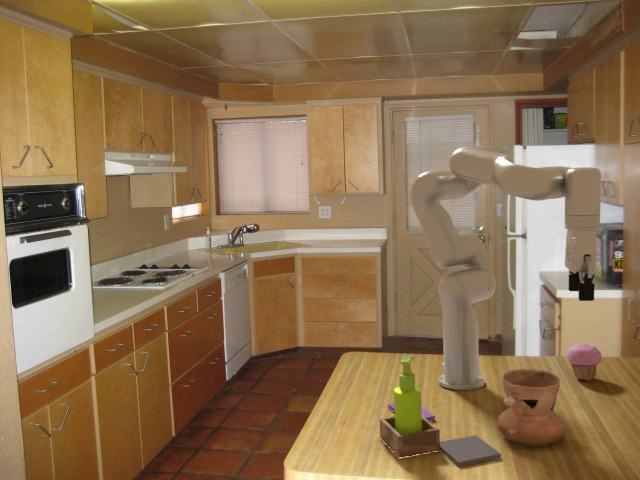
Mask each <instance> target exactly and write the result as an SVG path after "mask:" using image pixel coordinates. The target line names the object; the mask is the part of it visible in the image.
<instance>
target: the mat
mask: <svg viewBox="0 0 640 480" xmlns="http://www.w3.org/2000/svg"><path fill="white" fill-rule="evenodd" d="M440 450H441V451H442V452H443V453H444V454H443V453H442V452H441V451H440V452H441V453H442V454H443V455H445V454H446V455H447V456H448V457H449V458H450V459H451V460H452V461H451V460H450V459H449V458H448V457H447V456H446V455H445V456H446V457H447V458H448V459H449V460H450V461H451V462H453V461H454V462H455V463H456V464H457V465H458V466H460V467H463V466H462V465H465V466H468V465H467V464H470V465H473V464H472V463H475V464H478V463H477V462H480V463H482V462H481V461H485V462H488V460H489V461H493V460H498V459H501V458H502V453H501V452H500V451H498V450H496V449H495V448H494V447H493V446H491V445H490V444H489V443H487V442H486V441H485V440H483V439H482V438H481V437H479V436H478V435H476V434H475V435H469V436H463V437H458V438H453V439H448V440H442V441H440ZM454 462H453V463H454ZM455 463H454V464H455ZM456 464H455V465H456ZM457 465H456V466H457ZM458 466H457V467H458Z"/></svg>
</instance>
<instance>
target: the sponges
mask: <svg viewBox="0 0 640 480" xmlns="http://www.w3.org/2000/svg"><path fill="white" fill-rule="evenodd" d="M388 407H389V408H390V409H392V410H393V411H394V412H395V409H394V402H390V403H388V405H387V408H388ZM389 408H388V409H389ZM390 409H389V410H390ZM392 410H391V411H392ZM393 411H392V412H393ZM394 412H393V413H394ZM421 413H422V416H424V417H425V418H426V419H427V420H429V421H430V422H432V421H431V420H435V421H436V415H435V414H434V413H432V411H431V412H430V411H429V410H428V409H427V408H426V407H424V406H423V405H421Z"/></svg>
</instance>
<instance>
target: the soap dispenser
mask: <svg viewBox="0 0 640 480" xmlns="http://www.w3.org/2000/svg"><path fill="white" fill-rule="evenodd" d="M413 359H415V355H404V356H403V357H402V360H401V361H400V365H402V372H400V373H399V374H398V377H399V378H398V380H399V381H398V382H399V386H398V385H397V386H396V387H394V389H393V403H394V409H395V413H394V416H395V430H396V431H397V432H398V433H399V434H400V435H403V434H408V433H414V432H419V431H422V413H421V406H422V389H421V387H418V386H416V377H415V376H416V374H415V373H414V372H412V369H411V367H412V366H411V365H412V364H411V363H412V362H413Z"/></svg>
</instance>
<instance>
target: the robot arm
mask: <svg viewBox="0 0 640 480" xmlns="http://www.w3.org/2000/svg"><path fill="white" fill-rule="evenodd" d="M448 167H449V168H447V169H435V170H428V171H425V172H422V173H421V174H419V175H417V177H416V178H415V179H414V180H413V182H412V185H411V188H410V203H411V207H412V209H413V211H414V213H415V215H416V217H417V220H418V221H419V223H420V227H421V229H422V232H423V234H424V235H423V236H424V238H425V241H426V244H427V246H428V247H427V248H428V250H429V252H430V255H431V258H432V260H433V262H434V264H435V265H436V266H437V267H438V268H441V269H451V268H457V267H460V268H461V269H460V270H457V271H451V272H449V273H448V274H446V275H444V276H443V277H442V278H441V279H440V281H439V284H438V288H437V289H438V296H439V302H440V306H441V312H442V313H441V315H442V340H443V341H442V342H443V343H442V344H443V345H442V346H443V349H442V350H443V362H442V363H441V368H443V374H441V375H439V376H438V384H439V385H440V386H442V387H444V388H446V389H450V390H453V391H472V390H477V389H480V388H482V387H483V386H484V385H485V384H486V383H485V382H486V381H485V380H486V379H485V378H484V377H483V376H482V375H480V372H479V371H480V366H479V362H480V359H479V351H480V350H479V321H478V316H477V313H476V311H475V309H474V307H473V305H474V304H475V303H479V302H482V301H486V300H488V299H490V298H491V297H492V296H494V294H495V292H496V289H497V282H496V281H497V280H496V276H495V273H494V271H493V268H492V267H493V266H492V264H491V263H490V260H489V257H488V254H487V252H486V248H485V246H484V244H483V242H482V240H481V239H480V237H479V236H477V235H476V234H475V233H473V232H471V231H466V230H463V231H457V230H456V227H455V226H454V222H453V219H452V217H451V215H450V214H449V211H447V210H446V209H445V207H444V206H442V204H441V201H448V200H449V201H450V200H458V199H462V198H464V197H466V196H468V195H469V194H471V193H472V192H473V191H475V190H477V189H478V188H479V187H480V186H481V185H486V186H490V187H494V188H496V189H498V190H499V191H501V192H502V193H504V194H507V195H509V196H512V197H517V198H521V199H524V200H529V201H535V202H536V201H537V202H538V201H546V200H553V199H563V198H564V229H565V230H566V238H565V250H564V251H565V252H564V253H565V255H564V266H565V268H567V269H568V291H569V292H578V300H579V301H580V302H591V301H592V302H593V301H594V300H595V283H596V282H595V274H594V273H595V272H596V271H597V230H600V229H601V204H602V203H601V200H602V198H601V196H602V193H601V192H602V173H601V170H600V169H599V168H597V167H593V166H592V167H589V166H588V167H569V166H568V167H567V166H561V165H560V166H559V165H557V166H543V167H534V166H533V167H532V166H526V165H521V164H517V163H514V159H513V158H512V157H511V156H510V155H508V154H506V153H500V152H497V151H496V150H495V149H493V148H492V147H490V146H486V145H478V146H464V147H460V148H457V149H456V150H454V152H452V154H451V156H450V157H449V159H448Z"/></svg>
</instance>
